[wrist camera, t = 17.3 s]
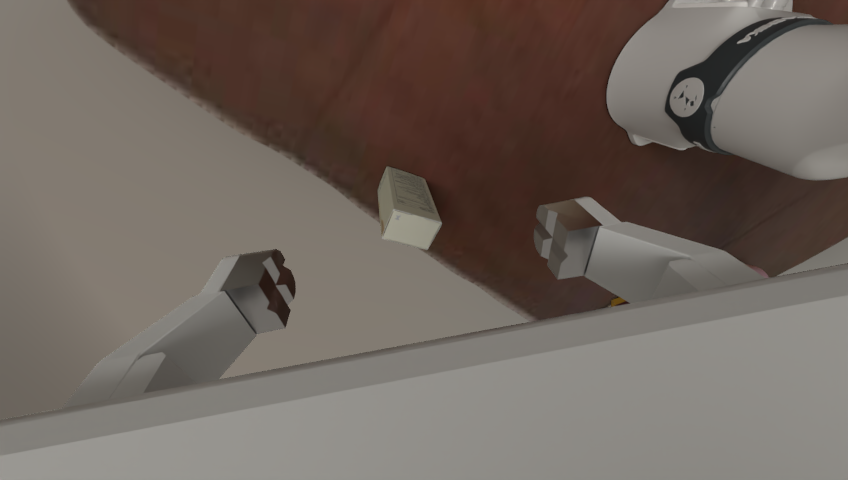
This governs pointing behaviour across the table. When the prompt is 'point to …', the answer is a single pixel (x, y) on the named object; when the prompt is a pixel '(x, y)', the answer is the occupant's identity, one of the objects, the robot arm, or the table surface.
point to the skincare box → (407, 209)
